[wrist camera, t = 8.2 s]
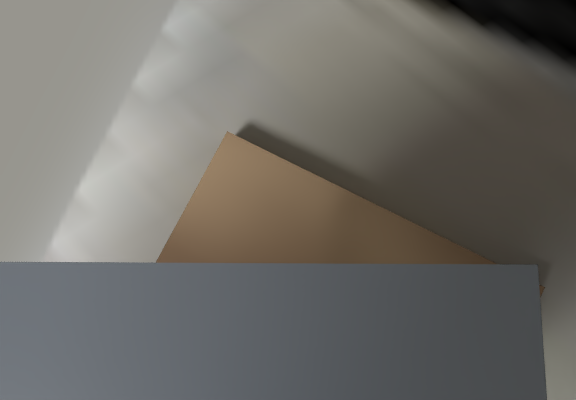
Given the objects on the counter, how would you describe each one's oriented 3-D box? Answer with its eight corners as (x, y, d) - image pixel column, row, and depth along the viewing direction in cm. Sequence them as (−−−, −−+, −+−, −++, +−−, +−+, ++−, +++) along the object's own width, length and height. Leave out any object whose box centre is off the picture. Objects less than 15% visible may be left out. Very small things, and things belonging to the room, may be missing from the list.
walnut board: (381, 625, 16) (384, 642, 15) (69, 435, 18) (57, 442, 17) (535, 287, 17) (544, 287, 17) (231, 137, 19) (227, 131, 18)
